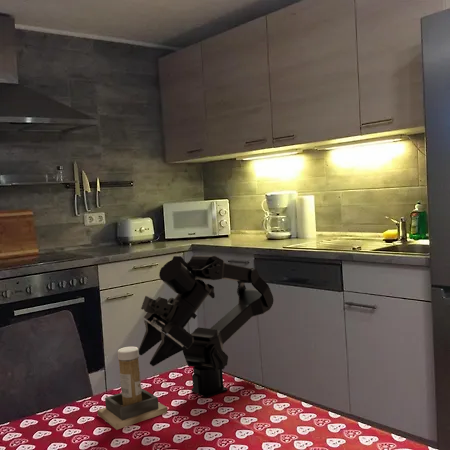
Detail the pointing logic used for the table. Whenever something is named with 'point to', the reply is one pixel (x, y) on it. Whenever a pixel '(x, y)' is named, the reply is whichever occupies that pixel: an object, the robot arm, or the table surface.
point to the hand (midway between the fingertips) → (145, 359)
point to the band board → (130, 410)
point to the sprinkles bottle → (130, 375)
